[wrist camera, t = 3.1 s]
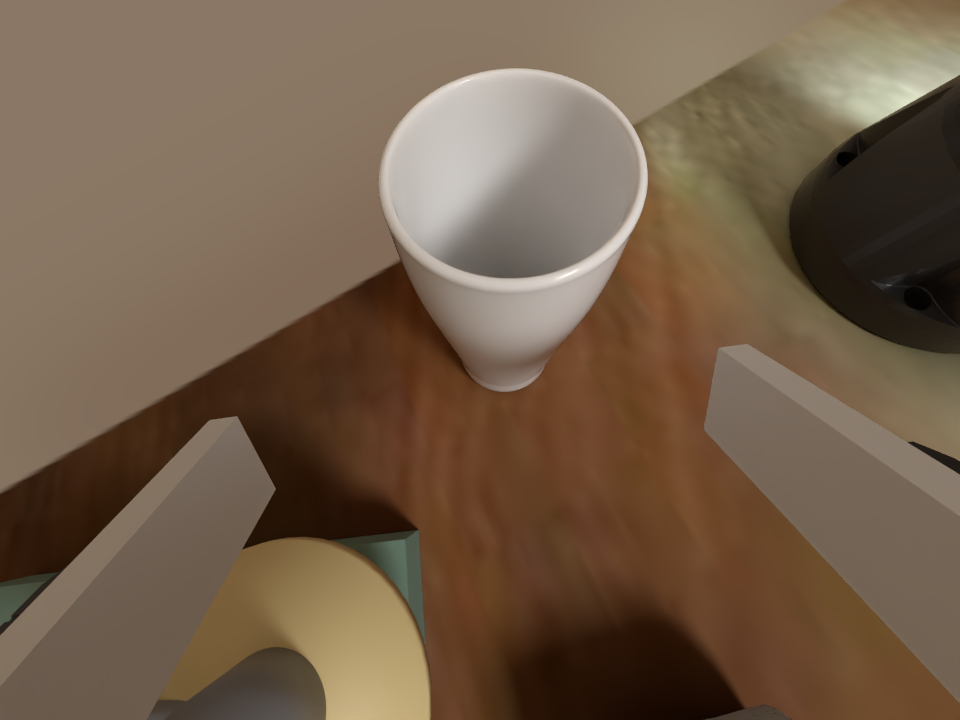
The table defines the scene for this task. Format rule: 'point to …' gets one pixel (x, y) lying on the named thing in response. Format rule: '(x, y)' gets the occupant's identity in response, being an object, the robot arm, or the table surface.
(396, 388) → the table surface
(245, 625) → the balance
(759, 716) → the ceramic mug
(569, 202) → the white cup
